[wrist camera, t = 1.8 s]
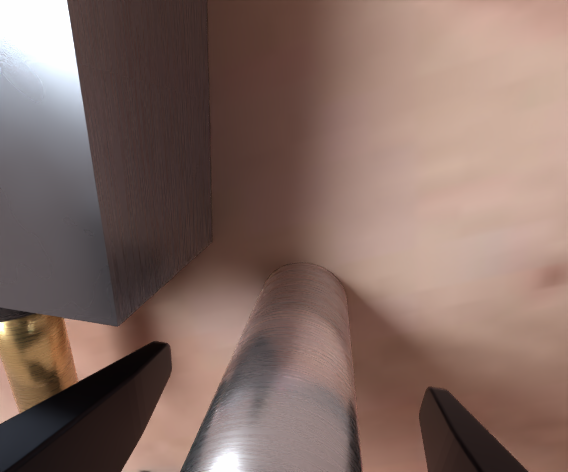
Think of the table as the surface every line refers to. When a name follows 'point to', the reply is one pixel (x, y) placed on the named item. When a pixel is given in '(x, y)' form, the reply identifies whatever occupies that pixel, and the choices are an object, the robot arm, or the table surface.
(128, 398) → the robot arm
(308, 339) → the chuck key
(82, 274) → the block
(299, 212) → the table surface
